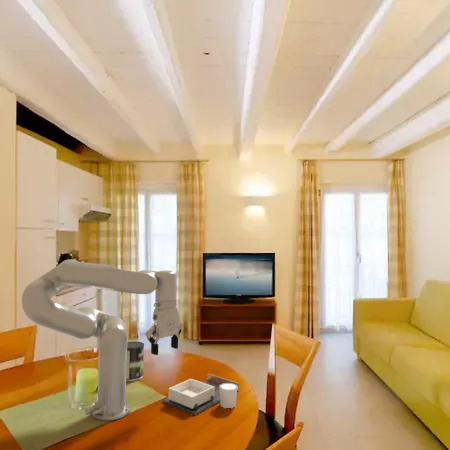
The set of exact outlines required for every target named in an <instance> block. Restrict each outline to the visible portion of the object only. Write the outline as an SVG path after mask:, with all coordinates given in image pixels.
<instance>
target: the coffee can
mask: <svg viewBox="0 0 450 450" xmlns="http://www.w3.org/2000/svg"><path fill="white" fill-rule="evenodd" d="M144 347H145V343H144V342H141V341H128V344H127V362H126V382H135V381H139V380H141V379H143V377H144V358H145V355H144V354H145V352H144V351H145V349H144Z"/></svg>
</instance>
